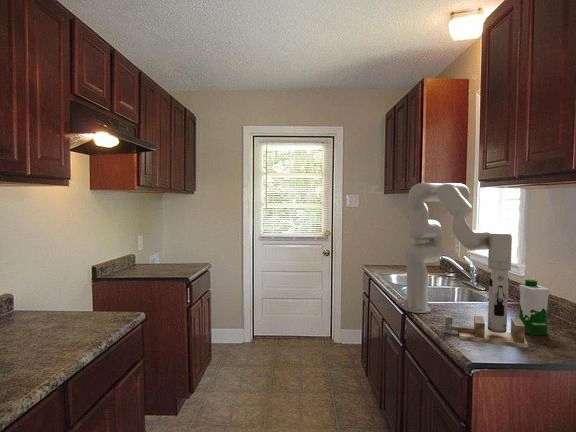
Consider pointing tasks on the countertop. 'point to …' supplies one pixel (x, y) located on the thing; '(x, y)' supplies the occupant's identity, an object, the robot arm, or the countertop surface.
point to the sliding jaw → (477, 329)
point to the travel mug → (494, 322)
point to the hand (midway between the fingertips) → (497, 312)
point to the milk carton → (534, 307)
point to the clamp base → (501, 335)
